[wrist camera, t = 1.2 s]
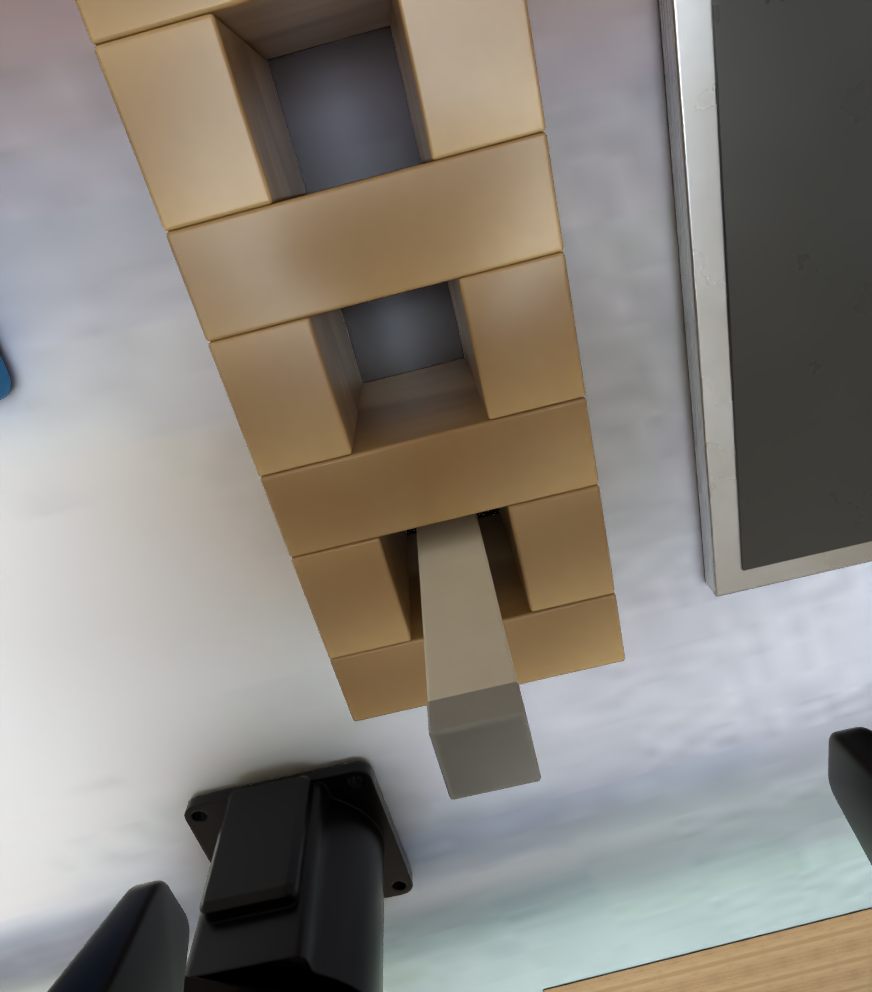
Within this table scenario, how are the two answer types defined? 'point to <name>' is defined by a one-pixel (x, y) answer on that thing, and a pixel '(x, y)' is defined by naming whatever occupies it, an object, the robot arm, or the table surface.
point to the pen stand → (372, 275)
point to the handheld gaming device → (4, 380)
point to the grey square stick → (469, 666)
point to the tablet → (775, 278)
